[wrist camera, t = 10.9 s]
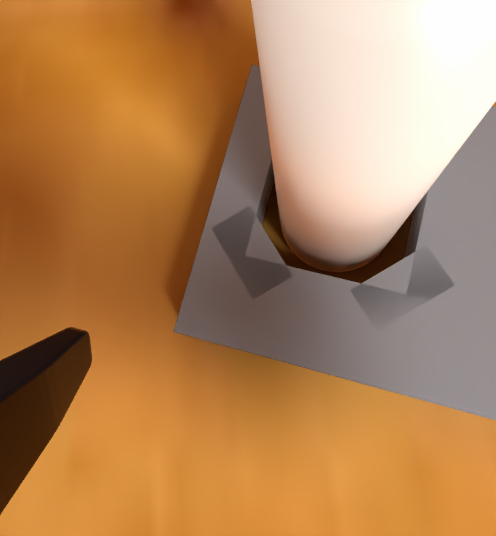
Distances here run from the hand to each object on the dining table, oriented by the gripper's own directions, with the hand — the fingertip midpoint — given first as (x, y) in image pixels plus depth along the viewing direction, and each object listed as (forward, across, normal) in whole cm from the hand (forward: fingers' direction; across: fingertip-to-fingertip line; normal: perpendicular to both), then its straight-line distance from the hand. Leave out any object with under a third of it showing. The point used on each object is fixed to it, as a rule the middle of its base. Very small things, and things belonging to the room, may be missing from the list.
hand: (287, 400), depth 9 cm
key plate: (+10, -3, +1) cm, 10 cm away
